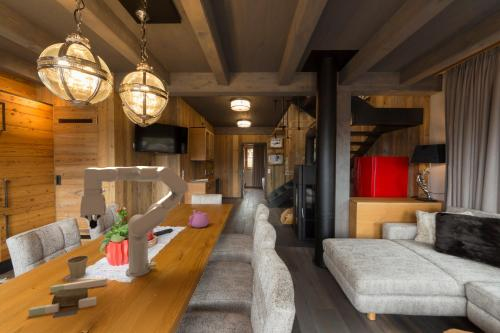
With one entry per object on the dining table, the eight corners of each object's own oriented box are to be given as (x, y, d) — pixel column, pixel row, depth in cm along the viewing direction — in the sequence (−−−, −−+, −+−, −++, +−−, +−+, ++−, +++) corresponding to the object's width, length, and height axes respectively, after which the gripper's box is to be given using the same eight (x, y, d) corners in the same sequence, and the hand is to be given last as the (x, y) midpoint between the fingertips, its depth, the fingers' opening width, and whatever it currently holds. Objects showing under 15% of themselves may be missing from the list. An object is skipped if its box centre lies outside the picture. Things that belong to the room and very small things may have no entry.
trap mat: (80, 308, 91) (80, 307, 91) (76, 314, 88) (76, 313, 88) (56, 312, 89) (56, 312, 89) (51, 319, 85) (50, 318, 85)
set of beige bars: (107, 283, 110) (107, 277, 110) (95, 305, 93) (95, 298, 93) (52, 292, 103) (52, 285, 103) (28, 317, 86) (28, 310, 86)
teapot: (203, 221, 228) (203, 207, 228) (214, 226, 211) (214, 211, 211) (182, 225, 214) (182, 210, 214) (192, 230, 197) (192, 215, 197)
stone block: (57, 300, 95) (58, 289, 95) (88, 297, 98) (89, 286, 98) (50, 309, 89) (51, 296, 89) (83, 305, 93) (84, 293, 93)
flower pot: (62, 280, 113) (62, 263, 112) (72, 271, 122) (71, 256, 122) (84, 278, 115) (83, 261, 115) (91, 269, 124) (91, 254, 124)
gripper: (111, 190, 118) (112, 224, 118) (78, 191, 113) (78, 227, 113) (108, 192, 111) (108, 228, 111) (72, 193, 105) (72, 232, 106)
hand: (93, 228), depth 112 cm, fingers closed
